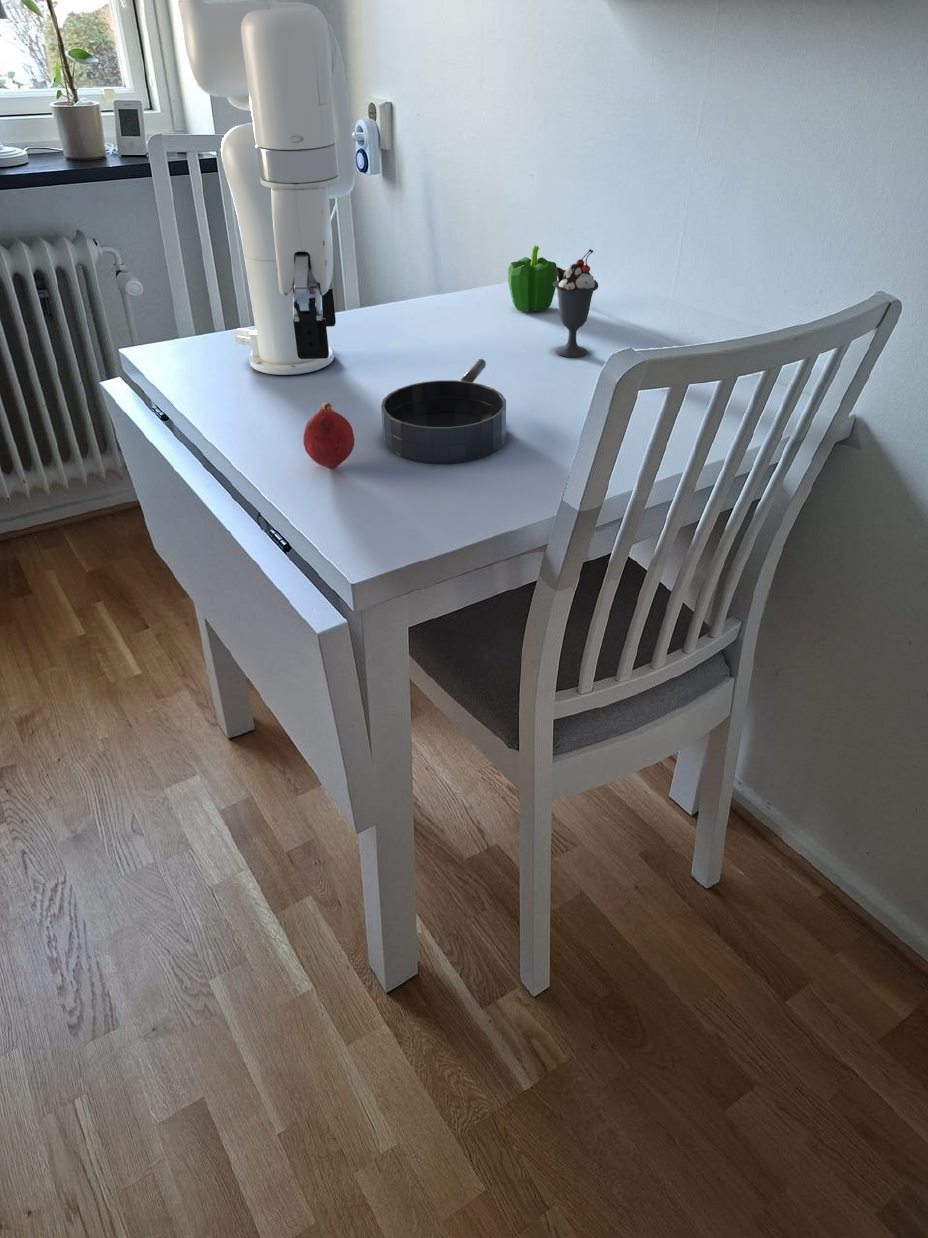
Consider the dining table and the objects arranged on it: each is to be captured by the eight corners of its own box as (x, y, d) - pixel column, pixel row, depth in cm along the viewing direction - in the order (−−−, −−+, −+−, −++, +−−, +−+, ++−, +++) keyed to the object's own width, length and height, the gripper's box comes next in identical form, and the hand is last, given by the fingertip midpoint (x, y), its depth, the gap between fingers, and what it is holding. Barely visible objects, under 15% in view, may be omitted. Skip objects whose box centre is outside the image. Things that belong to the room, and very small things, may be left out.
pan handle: (467, 392, 112) (466, 382, 111) (456, 391, 112) (456, 381, 112) (487, 367, 119) (487, 357, 119) (477, 367, 120) (477, 357, 119)
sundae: (600, 356, 131) (609, 251, 123) (559, 361, 130) (564, 255, 121) (583, 342, 136) (590, 241, 128) (543, 347, 135) (547, 245, 126)
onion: (348, 481, 99) (341, 415, 94) (300, 477, 100) (291, 412, 95) (362, 459, 104) (357, 395, 99) (317, 456, 105) (309, 392, 100)
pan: (365, 455, 104) (362, 420, 102) (408, 408, 116) (407, 375, 114) (486, 470, 101) (486, 434, 98) (518, 420, 112) (519, 386, 110)
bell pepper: (541, 319, 147) (544, 256, 141) (500, 311, 150) (500, 250, 144) (564, 306, 152) (568, 245, 146) (524, 299, 156) (525, 240, 150)
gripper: (271, 149, 90) (292, 315, 101) (245, 184, 76) (272, 372, 87) (343, 148, 90) (356, 314, 101) (330, 183, 77) (347, 370, 87)
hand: (317, 341), depth 94 cm, fingers open, 9 cm apart
